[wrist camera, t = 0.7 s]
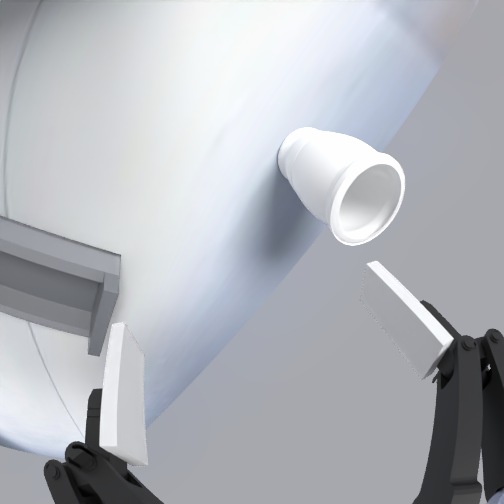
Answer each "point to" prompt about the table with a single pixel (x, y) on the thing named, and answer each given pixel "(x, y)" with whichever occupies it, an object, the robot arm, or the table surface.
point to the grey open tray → (57, 282)
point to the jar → (343, 182)
